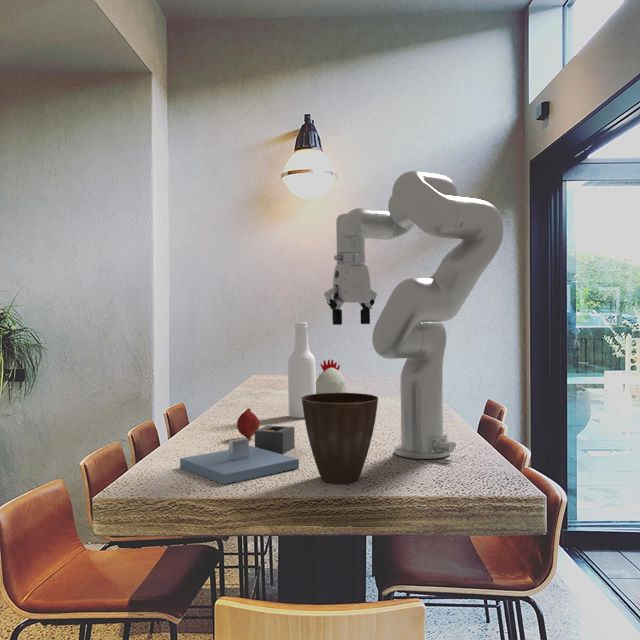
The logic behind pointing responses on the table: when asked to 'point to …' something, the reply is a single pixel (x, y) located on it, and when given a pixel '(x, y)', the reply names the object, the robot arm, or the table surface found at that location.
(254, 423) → the onion
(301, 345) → the alcohol
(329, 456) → the plant pot
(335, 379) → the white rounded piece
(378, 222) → the robot arm
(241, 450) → the block
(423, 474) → the table surface
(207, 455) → the base board
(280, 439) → the hollow gray block
